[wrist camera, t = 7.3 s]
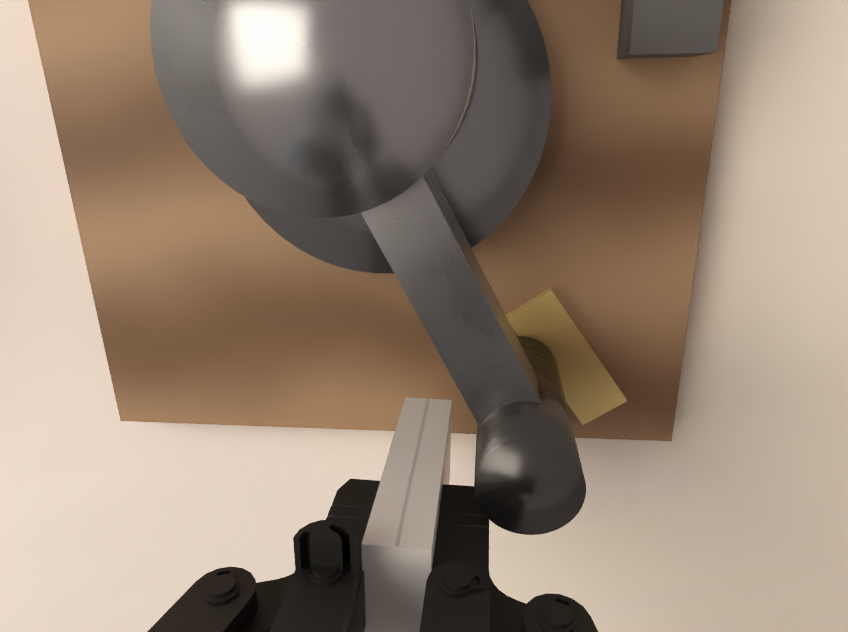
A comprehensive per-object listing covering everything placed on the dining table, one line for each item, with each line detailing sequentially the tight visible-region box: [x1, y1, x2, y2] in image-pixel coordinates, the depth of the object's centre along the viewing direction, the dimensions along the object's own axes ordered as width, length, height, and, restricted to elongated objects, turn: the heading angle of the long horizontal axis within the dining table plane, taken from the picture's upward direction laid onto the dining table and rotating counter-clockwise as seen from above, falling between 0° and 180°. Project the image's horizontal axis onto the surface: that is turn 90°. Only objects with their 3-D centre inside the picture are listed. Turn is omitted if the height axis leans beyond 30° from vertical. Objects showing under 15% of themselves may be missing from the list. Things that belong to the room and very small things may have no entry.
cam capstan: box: [150, 0, 586, 535], centre depth 14 cm, size 14×9×6 cm, turn 28°
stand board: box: [28, 0, 731, 441], centre depth 17 cm, size 20×19×4 cm
